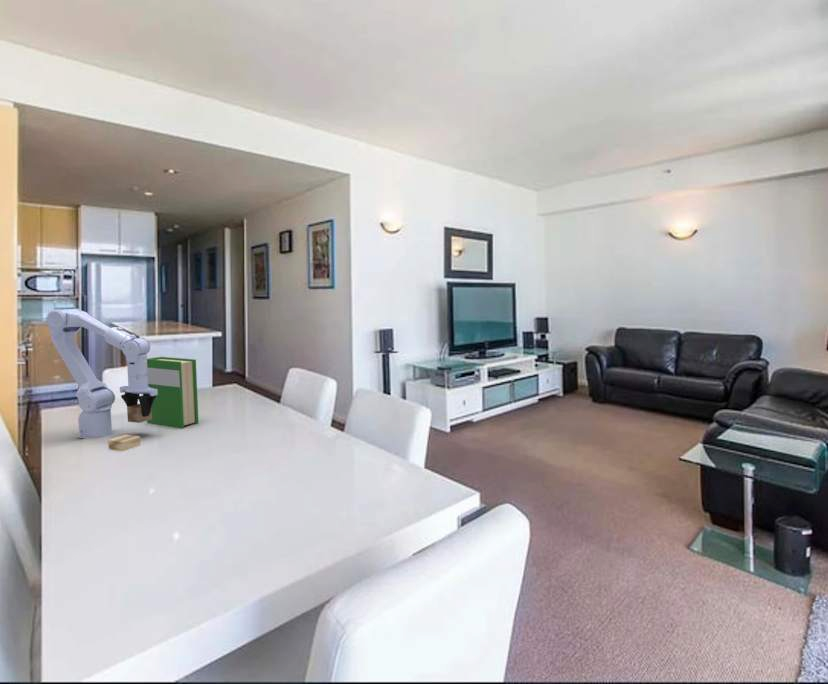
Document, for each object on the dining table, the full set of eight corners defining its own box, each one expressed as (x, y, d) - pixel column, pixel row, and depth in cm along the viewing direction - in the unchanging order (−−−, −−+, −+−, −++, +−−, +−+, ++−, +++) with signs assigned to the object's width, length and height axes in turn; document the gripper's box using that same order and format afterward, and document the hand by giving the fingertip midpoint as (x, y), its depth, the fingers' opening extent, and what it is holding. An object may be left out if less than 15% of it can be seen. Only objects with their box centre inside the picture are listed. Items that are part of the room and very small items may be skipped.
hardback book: (198, 423, 177) (195, 359, 175) (181, 428, 170) (178, 362, 168) (164, 418, 184) (161, 356, 182) (147, 423, 177) (143, 359, 175)
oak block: (108, 448, 146) (108, 440, 146) (126, 443, 151) (125, 434, 151) (123, 451, 144) (122, 442, 144) (140, 445, 149) (140, 436, 149)
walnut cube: (127, 421, 158) (126, 406, 157) (141, 418, 163) (140, 403, 162) (139, 422, 156) (138, 407, 156) (152, 419, 161) (151, 404, 160)
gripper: (110, 375, 156) (112, 415, 158) (143, 378, 152) (145, 420, 153) (129, 372, 163) (131, 411, 164) (162, 375, 158) (164, 415, 160)
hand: (139, 415), depth 159 cm, fingers closed on walnut cube, 5 cm apart
